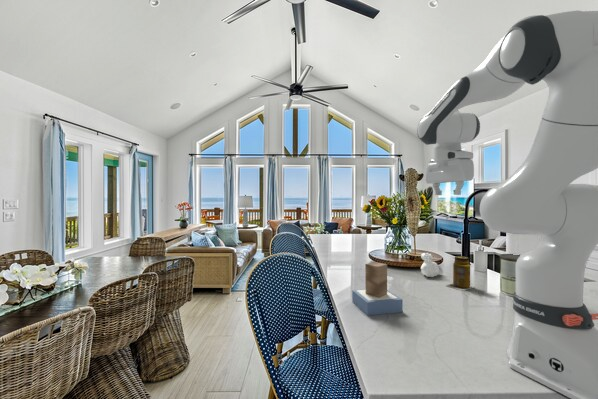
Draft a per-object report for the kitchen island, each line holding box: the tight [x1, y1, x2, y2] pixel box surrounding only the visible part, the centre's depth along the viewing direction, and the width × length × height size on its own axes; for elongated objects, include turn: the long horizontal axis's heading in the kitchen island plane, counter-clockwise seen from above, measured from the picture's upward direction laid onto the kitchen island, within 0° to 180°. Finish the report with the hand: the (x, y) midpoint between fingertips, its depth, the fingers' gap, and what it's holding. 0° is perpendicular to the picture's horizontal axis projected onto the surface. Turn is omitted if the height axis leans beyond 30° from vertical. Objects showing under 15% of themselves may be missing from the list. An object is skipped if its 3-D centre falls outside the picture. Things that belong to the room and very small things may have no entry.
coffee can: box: [499, 253, 521, 298], centre depth 106 cm, size 10×10×14 cm
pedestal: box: [351, 288, 404, 316], centre depth 95 cm, size 12×12×4 cm
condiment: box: [445, 255, 475, 291], centre depth 115 cm, size 7×8×12 cm
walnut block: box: [365, 261, 388, 298], centre depth 95 cm, size 5×5×10 cm
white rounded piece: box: [420, 252, 440, 278], centre depth 133 cm, size 12×8×11 cm
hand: (447, 195), depth 102 cm, fingers open, 8 cm apart
